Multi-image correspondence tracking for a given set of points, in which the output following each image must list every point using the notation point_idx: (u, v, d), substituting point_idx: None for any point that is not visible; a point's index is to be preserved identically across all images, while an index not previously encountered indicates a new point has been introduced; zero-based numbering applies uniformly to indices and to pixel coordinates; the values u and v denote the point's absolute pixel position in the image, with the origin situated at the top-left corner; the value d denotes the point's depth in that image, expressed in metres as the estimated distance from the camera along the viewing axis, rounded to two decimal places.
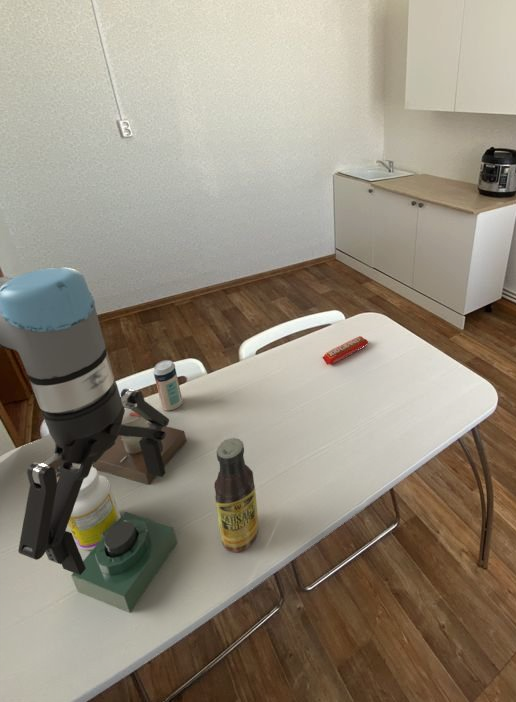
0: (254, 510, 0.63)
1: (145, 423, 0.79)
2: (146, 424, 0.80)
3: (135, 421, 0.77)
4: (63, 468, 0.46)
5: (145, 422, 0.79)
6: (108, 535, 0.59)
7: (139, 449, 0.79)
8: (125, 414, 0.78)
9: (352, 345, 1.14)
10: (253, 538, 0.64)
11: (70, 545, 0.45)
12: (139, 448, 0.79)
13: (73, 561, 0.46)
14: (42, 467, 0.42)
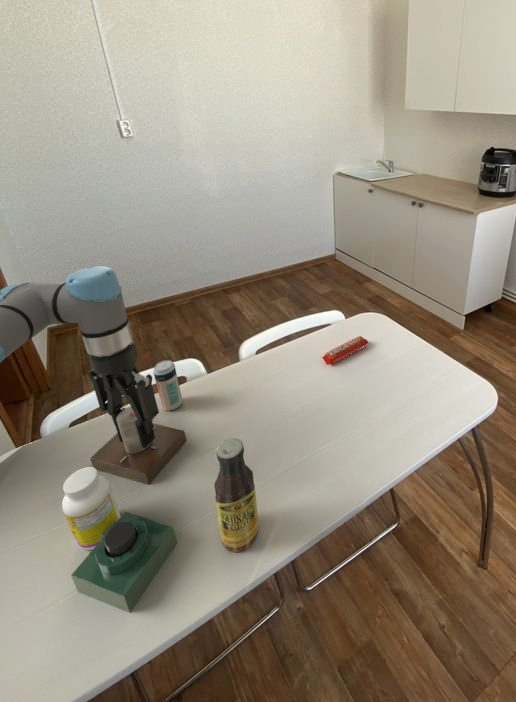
0: (254, 510, 0.63)
1: None
2: None
3: (135, 421, 0.77)
4: (128, 391, 0.74)
5: None
6: (108, 535, 0.59)
7: (139, 449, 0.79)
8: (125, 414, 0.78)
9: (352, 345, 1.14)
10: (253, 538, 0.64)
11: None
12: (139, 448, 0.79)
13: (152, 430, 0.80)
14: (146, 377, 0.74)
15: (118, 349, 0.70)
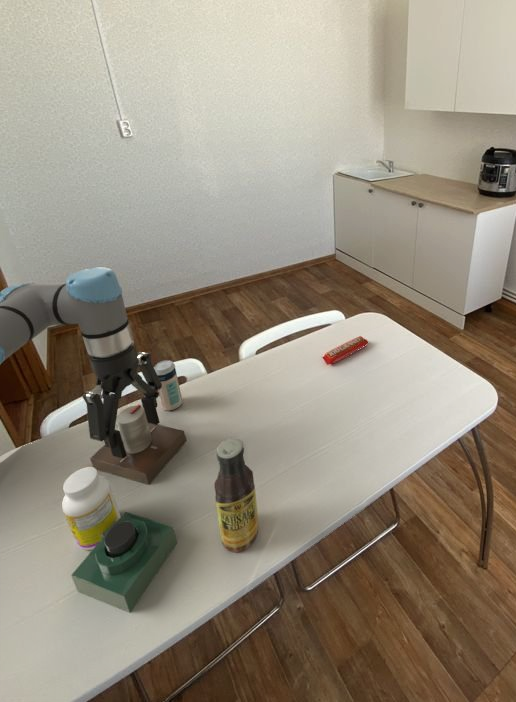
0: (254, 510, 0.63)
1: None
2: None
3: (143, 408, 0.80)
4: None
5: None
6: (108, 535, 0.59)
7: None
8: (128, 417, 0.77)
9: (352, 345, 1.14)
10: (253, 538, 0.64)
11: None
12: None
13: None
14: (142, 352, 0.81)
15: None
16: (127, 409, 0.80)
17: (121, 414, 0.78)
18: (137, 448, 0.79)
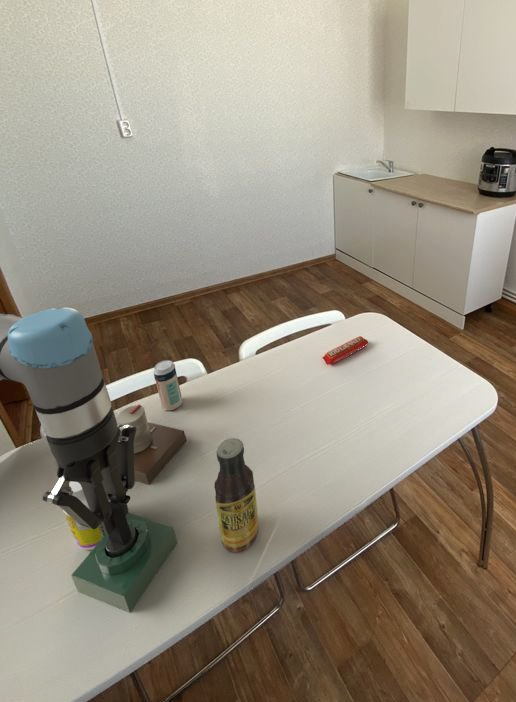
0: (254, 510, 0.63)
1: None
2: None
3: (143, 408, 0.80)
4: None
5: None
6: None
7: None
8: (128, 417, 0.77)
9: (352, 345, 1.14)
10: (253, 538, 0.64)
11: None
12: None
13: None
14: (126, 425, 0.59)
15: None
16: (127, 409, 0.80)
17: (121, 414, 0.78)
18: (137, 448, 0.79)
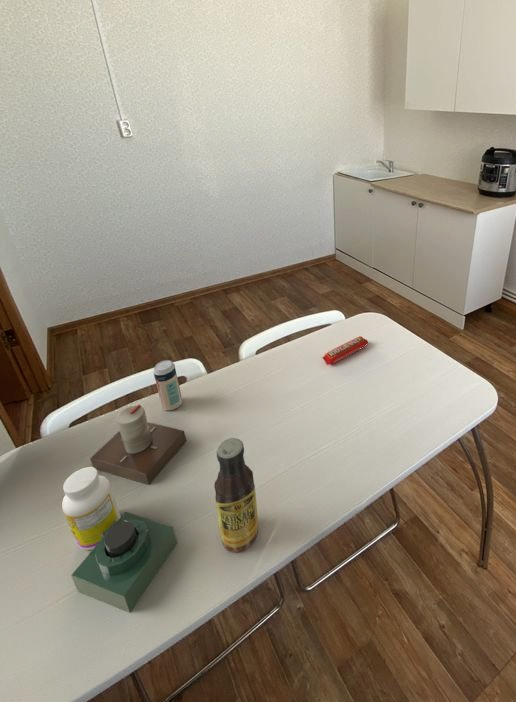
0: (254, 510, 0.63)
1: None
2: None
3: (143, 408, 0.80)
4: None
5: None
6: (108, 535, 0.59)
7: None
8: (128, 417, 0.77)
9: (352, 345, 1.14)
10: (253, 538, 0.64)
11: None
12: None
13: None
14: None
15: None
16: (127, 409, 0.80)
17: (121, 414, 0.78)
18: (137, 448, 0.79)
